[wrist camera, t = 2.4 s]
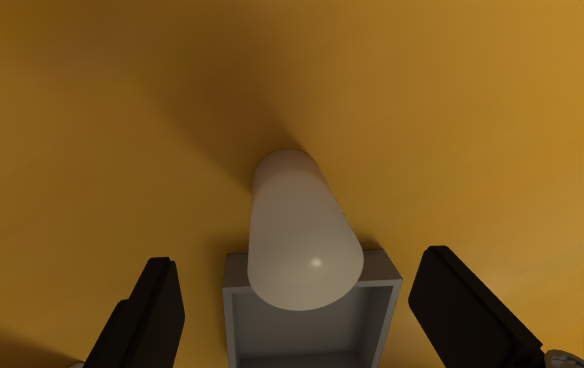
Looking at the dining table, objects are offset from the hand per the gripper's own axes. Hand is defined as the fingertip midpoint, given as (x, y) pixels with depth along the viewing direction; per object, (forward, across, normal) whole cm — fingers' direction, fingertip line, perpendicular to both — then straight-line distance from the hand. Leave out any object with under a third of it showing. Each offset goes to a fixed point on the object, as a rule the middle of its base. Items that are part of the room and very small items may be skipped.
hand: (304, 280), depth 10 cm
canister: (+10, 0, +1) cm, 10 cm away
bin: (+10, -2, +14) cm, 17 cm away
